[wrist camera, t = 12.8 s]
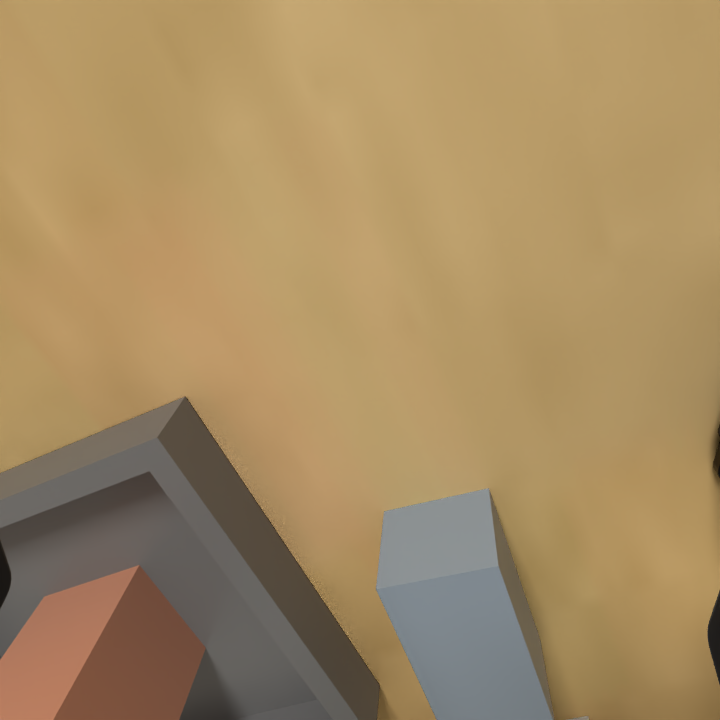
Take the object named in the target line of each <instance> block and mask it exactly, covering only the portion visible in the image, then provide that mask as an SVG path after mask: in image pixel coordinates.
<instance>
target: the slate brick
mask: <svg viewBox="0 0 720 720" xmlns="http://www.w3.org/2000/svg"><path fill="white" fill-rule="evenodd" d="M376 590H377V592H378V594H379V597H380V599H381V601H382V603H383V605H384V607H385V609H386V612H387V614H388V616H389V618H390V620H391V622H392V625H393V627H394V629H395V631H396V633H397V635H398V637H399V640H400V642H401V644H402V646H403V648H404V650H405V653H406V655H407V657H408V659H409V661H410V663H411V665H412V668H413V670H414V672H415V674H416V676H417V678H418V680H419V683H420V685H421V687H422V689H423V691H424V693H425V696H426V698H427V700H428V702H429V704H430V706H431V708H432V711H433V713H434V715H435V717H436V719H437V720H555V719H554V714H553V708H552V703H551V697H550V692H549V686H548V680H547V675H546V669H545V664H544V658H543V652H542V647H541V641H540V638H539V635H538V632H537V629H536V626H535V623H534V620H533V617H532V614H531V611H530V608H529V605H528V602H527V599H526V597H525V594H524V591H523V588H522V585H521V582H520V579H519V576H518V573H517V570H516V567H515V564H514V561H513V558H512V555H511V552H510V549H509V546H508V543H507V541H506V538H505V535H504V532H503V529H502V526H501V523H500V520H499V517H498V514H497V511H496V508H495V505H494V502H493V499H492V496H491V493H490V490H489V488H488V489H484V490H479V491H475V492H470V493H466V494H461V495H456V496H452V497H447V498H443V499H438V500H434V501H429V502H425V503H420V504H416V505H411V506H407V507H402V508H398V509H393V510H389V511H384V517H383V527H382V537H381V546H380V556H379V566H378V576H377V585H376Z"/></svg>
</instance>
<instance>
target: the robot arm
mask: <svg viewBox="0 0 720 720" xmlns="http://www.w3.org/2000/svg"><path fill="white" fill-rule="evenodd" d="M718 434H719V435H720V425H719V428H718ZM713 468H714V469H715V471H716V473H717V474H718V476H719V477H720V442H719V446H718V449H717V452H716V456H715V459H714V463H713ZM11 579H12V578H11V570H10V567H9V564H8V561H7V558H6V555H5V552H4V549H3V546H2V543H1V540H0V609H1V607H2V605H3V603H4V601H5V599H6V597H7V595H8V592H9V589H10V586H11ZM708 643H709V648H710V651H711V655H712V659H713V662H714V666H715V670H716V673H717V677H718V681H719V684H720V591H719V594H718V597H717V600H716V603H715V606H714V609H713V612H712V615H711V618H710V621H709V625H708Z"/></svg>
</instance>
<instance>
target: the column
mask: <svg viewBox="0 0 720 720" xmlns="http://www.w3.org/2000/svg"><path fill="white" fill-rule="evenodd" d="M205 649H206V648H205V646H204V645H203V644H202V643H201V641H200V640H199V639H198V638H197V636H196V635H195V634H194V633H193V631H192V630H191V629H190V628H189V626H188V625H187V624H186V623H185V621H184V620H183V619H182V618H181V616H180V615H179V614H178V613H177V611H176V610H175V609H174V608H173V606H172V605H171V604H170V603H169V601H168V600H167V599H166V598H165V596H164V595H163V594H162V593H161V591H160V590H159V589H158V588H157V586H156V585H155V584H154V583H153V581H152V580H151V579H150V578H149V576H148V575H147V574H146V573H145V571H144V570H143V569H142V568H141V566H140V565H138V566H135V567H132V568H129V569H126V570H123V571H120V572H117V573H114V574H111V575H108V576H105V577H102V578H99V579H96V580H93V581H90V582H87V583H84V584H81V585H78V586H75V587H72V588H69V589H66V590H63V591H60V592H57V593H54V594H51V595H48V596H45V597H44V598H43V599H42V600H41V602H40V603H39V605H38V606H37V608H36V609H35V611H34V612H33V613H32V615H31V616H30V618H29V619H28V621H27V622H26V623H25V625H24V626H23V628H22V629H21V631H20V632H19V634H18V635H17V636H16V638H15V639H14V641H13V642H12V644H11V645H10V646H9V648H8V649H7V651H6V652H5V654H4V655H3V657H2V658H1V659H0V720H179V719H180V716H181V713H182V711H183V708H184V705H185V703H186V700H187V697H188V694H189V692H190V689H191V686H192V684H193V681H194V678H195V676H196V673H197V670H198V668H199V665H200V662H201V659H202V657H203V654H204V651H205Z"/></svg>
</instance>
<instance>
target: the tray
mask: <svg viewBox="0 0 720 720" xmlns="http://www.w3.org/2000/svg"><path fill="white" fill-rule="evenodd" d="M0 540H1V543H2V546H3V549H4V552H5V555H6V558H7V561H8V564H9V567H10V570H11V578H12V579H11V586H10V589H9V592H8V595H7V597H6V599H5V601H4V603H3V605H2V607H1V609H0V659H1V658H2V657H3V655H4V654H5V652H6V651H7V649H8V648H9V646H10V645H11V644H12V642H13V641H14V639H15V638H16V636H17V635H18V634H19V632H20V631H21V629H22V628H23V626H24V625H25V623H26V622H27V621H28V619H29V618H30V616H31V615H32V613H33V612H34V611H35V609H36V608H37V606H38V605H39V603H40V602H41V600H42V599H43V598H44V597H45V596H48V595H51V594H54V593H57V592H60V591H63V590H66V589H69V588H72V587H75V586H78V585H81V584H84V583H87V582H90V581H93V580H96V579H99V578H102V577H105V576H108V575H111V574H114V573H117V572H120V571H123V570H126V569H129V568H132V567H135V566H138V565H140V566H141V568H142V569H143V570H144V571H145V573H146V574H147V575H148V576H149V578H150V579H151V580H152V581H153V583H154V584H155V585H156V586H157V588H158V589H159V590H160V591H161V593H162V594H163V595H164V596H165V598H166V599H167V600H168V601H169V603H170V604H171V605H172V606H173V608H174V609H175V610H176V611H177V613H178V614H179V615H180V616H181V618H182V619H183V620H184V621H185V623H186V624H187V625H188V626H189V628H190V629H191V630H192V631H193V633H194V634H195V635H196V636H197V638H198V639H199V640H200V641H201V643H202V644H203V645H204V646H205V648H206V649H205V651H204V654H203V657H202V659H201V662H200V665H199V668H198V670H197V673H196V676H195V678H194V681H193V684H192V686H191V689H190V692H189V694H188V697H187V700H186V703H185V705H184V708H183V711H182V713H181V716H180V719H179V720H377V714H378V701H379V689H380V685H379V684H378V682H377V681H376V679H375V678H374V676H373V675H372V673H371V672H370V670H369V669H368V667H367V666H366V664H365V663H364V661H363V660H362V658H361V657H360V655H359V654H358V652H357V651H356V650H355V648H354V647H353V645H352V644H351V642H350V641H349V639H348V638H347V636H346V635H345V633H344V632H343V630H342V629H341V627H340V626H339V624H338V623H337V621H336V620H335V618H334V617H333V615H332V614H331V612H330V611H329V609H328V608H327V606H326V605H325V603H324V602H323V600H322V599H321V598H320V596H319V595H318V593H317V592H316V590H315V589H314V587H313V586H312V584H311V583H310V581H309V580H308V578H307V577H306V575H305V574H304V572H303V571H302V569H301V568H300V566H299V565H298V563H297V562H296V560H295V559H294V557H293V556H292V554H291V553H290V551H289V550H288V548H287V547H286V545H285V544H284V543H283V541H282V540H281V538H280V537H279V535H278V534H277V532H276V531H275V529H274V528H273V526H272V525H271V523H270V522H269V520H268V519H267V517H266V516H265V514H264V513H263V511H262V510H261V508H260V507H259V505H258V504H257V502H256V501H255V499H254V498H253V496H252V495H251V493H250V492H249V491H248V489H247V488H246V486H245V485H244V483H243V482H242V480H241V479H240V477H239V476H238V474H237V473H236V471H235V470H234V468H233V467H232V465H231V464H230V462H229V461H228V459H227V458H226V456H225V455H224V453H223V452H222V450H221V449H220V447H219V446H218V444H217V443H216V441H215V440H214V439H213V437H212V436H211V434H210V433H209V431H208V430H207V428H206V427H205V425H204V424H203V422H202V421H201V419H200V418H199V416H198V415H197V413H196V412H195V410H194V409H193V407H192V406H191V404H190V403H189V401H188V400H187V398H186V397H183V398H181V399H178V400H176V401H173V402H171V403H169V404H166V405H164V406H161V407H159V408H156V409H154V410H152V411H149V412H147V413H144V414H142V415H140V416H137V417H135V418H132V419H130V420H128V421H125V422H123V423H120V424H118V425H115V426H113V427H111V428H108V429H106V430H103V431H101V432H99V433H96V434H94V435H91V436H89V437H87V438H84V439H82V440H79V441H77V442H74V443H72V444H70V445H67V446H65V447H62V448H60V449H58V450H55V451H53V452H50V453H48V454H46V455H43V456H41V457H38V458H36V459H33V460H31V461H29V462H26V463H24V464H21V465H19V466H17V467H14V468H12V469H9V470H7V471H5V472H2V473H0Z"/></svg>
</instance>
